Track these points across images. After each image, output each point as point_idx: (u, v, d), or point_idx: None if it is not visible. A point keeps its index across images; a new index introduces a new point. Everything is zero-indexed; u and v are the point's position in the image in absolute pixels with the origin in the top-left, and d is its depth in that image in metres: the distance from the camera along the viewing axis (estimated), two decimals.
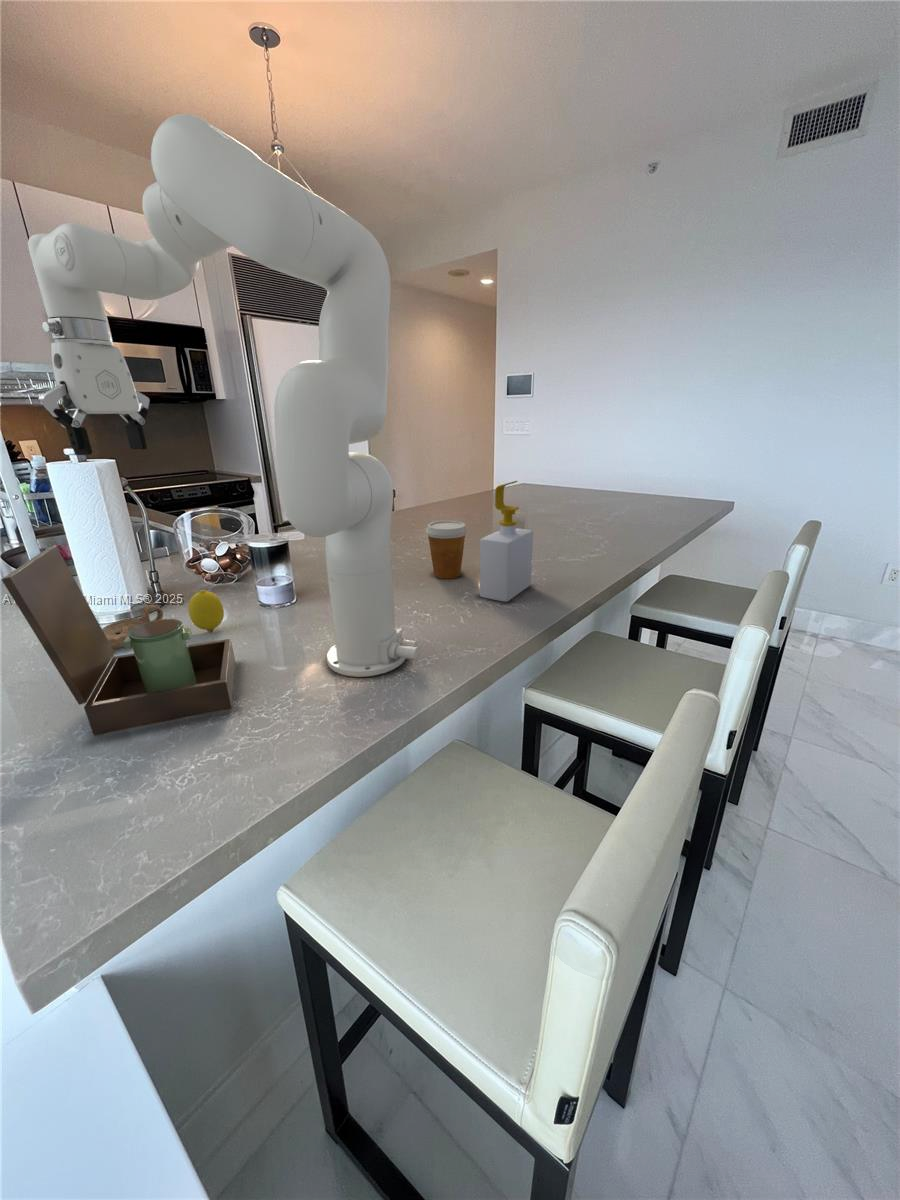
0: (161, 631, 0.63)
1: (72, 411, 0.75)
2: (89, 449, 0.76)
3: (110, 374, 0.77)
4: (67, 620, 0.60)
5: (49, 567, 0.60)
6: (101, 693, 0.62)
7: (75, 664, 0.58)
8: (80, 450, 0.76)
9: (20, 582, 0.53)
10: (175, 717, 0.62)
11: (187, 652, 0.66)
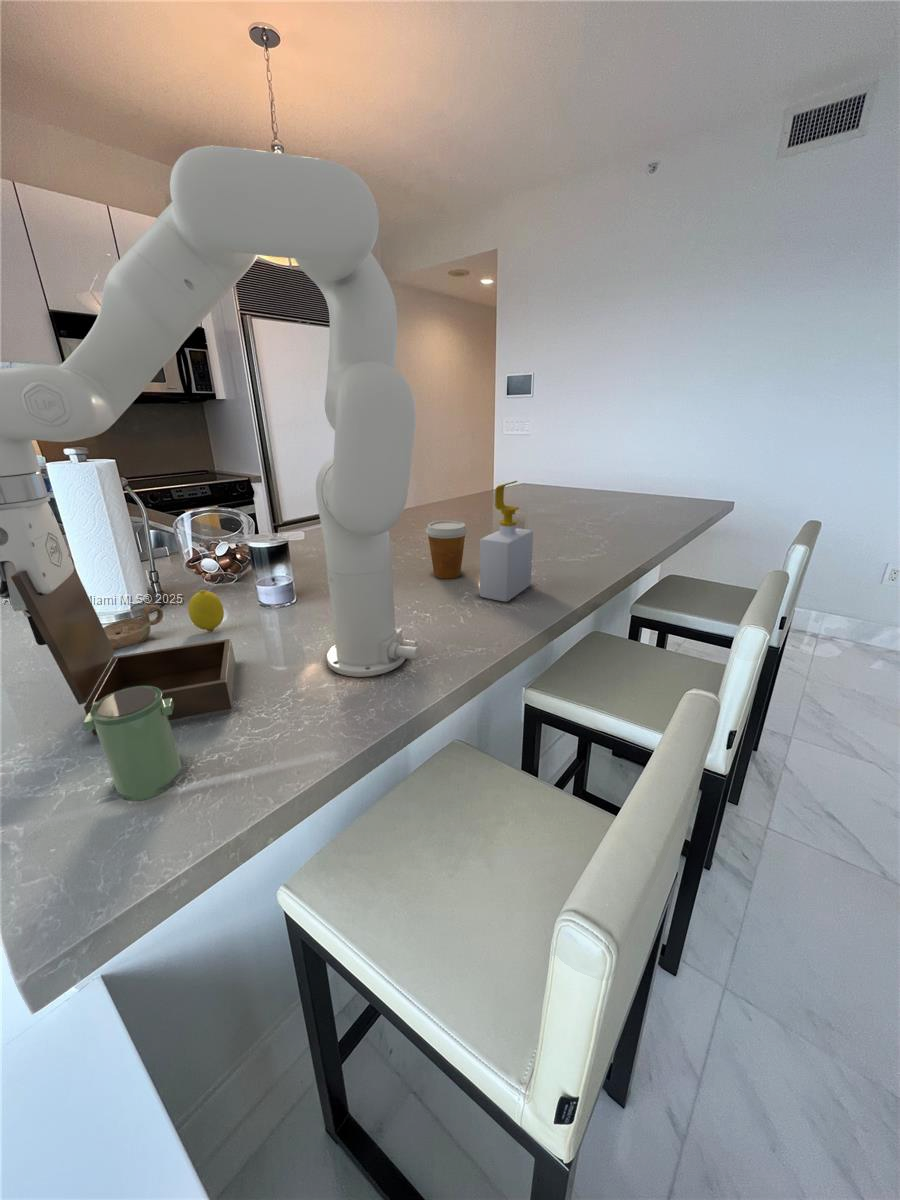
0: (133, 706, 0.49)
1: None
2: None
3: (52, 536, 0.57)
4: (71, 619, 0.60)
5: None
6: (101, 693, 0.62)
7: (77, 664, 0.58)
8: None
9: (29, 580, 0.53)
10: (175, 717, 0.62)
11: (168, 730, 0.52)
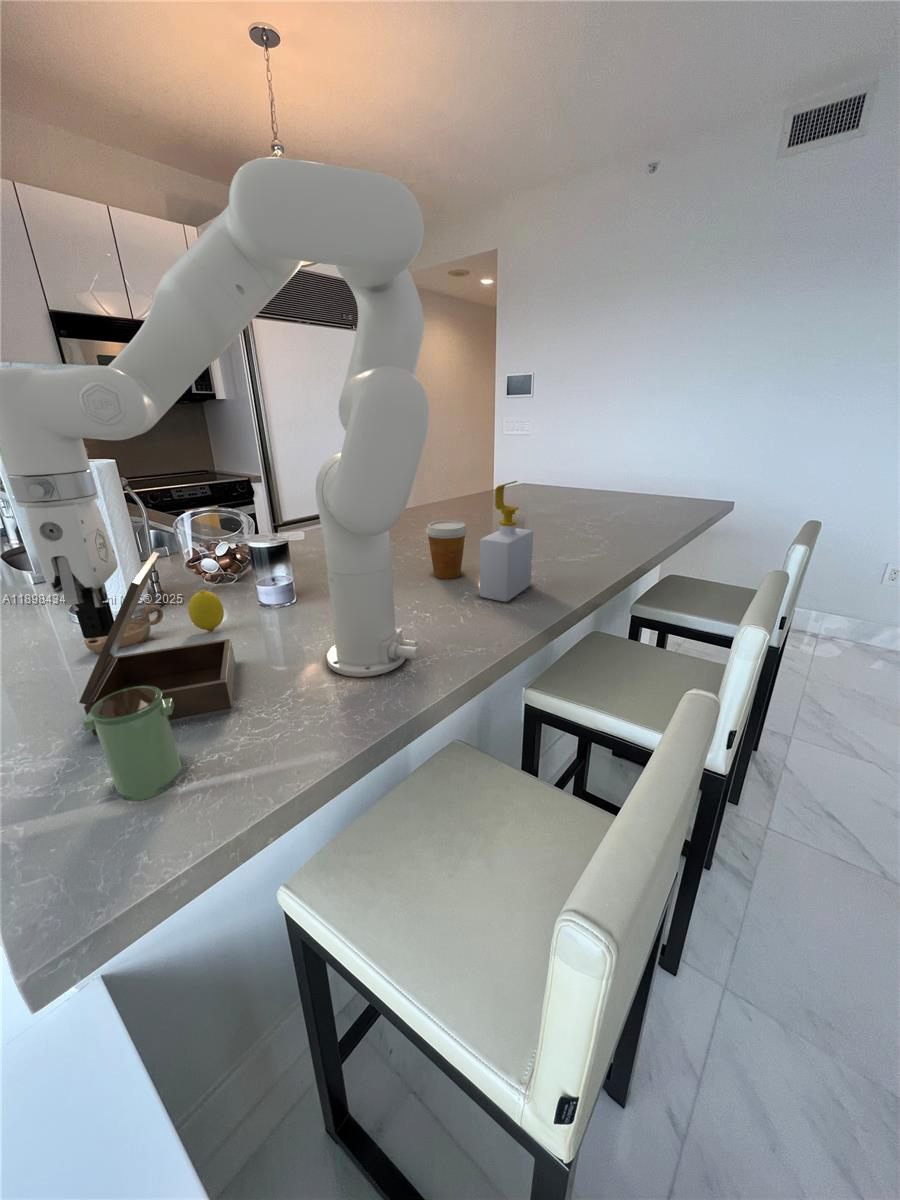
0: (133, 706, 0.49)
1: None
2: None
3: (100, 532, 0.59)
4: (125, 623, 0.62)
5: (148, 574, 0.64)
6: (101, 693, 0.62)
7: (104, 666, 0.59)
8: None
9: (137, 589, 0.57)
10: (175, 717, 0.62)
11: (168, 730, 0.52)
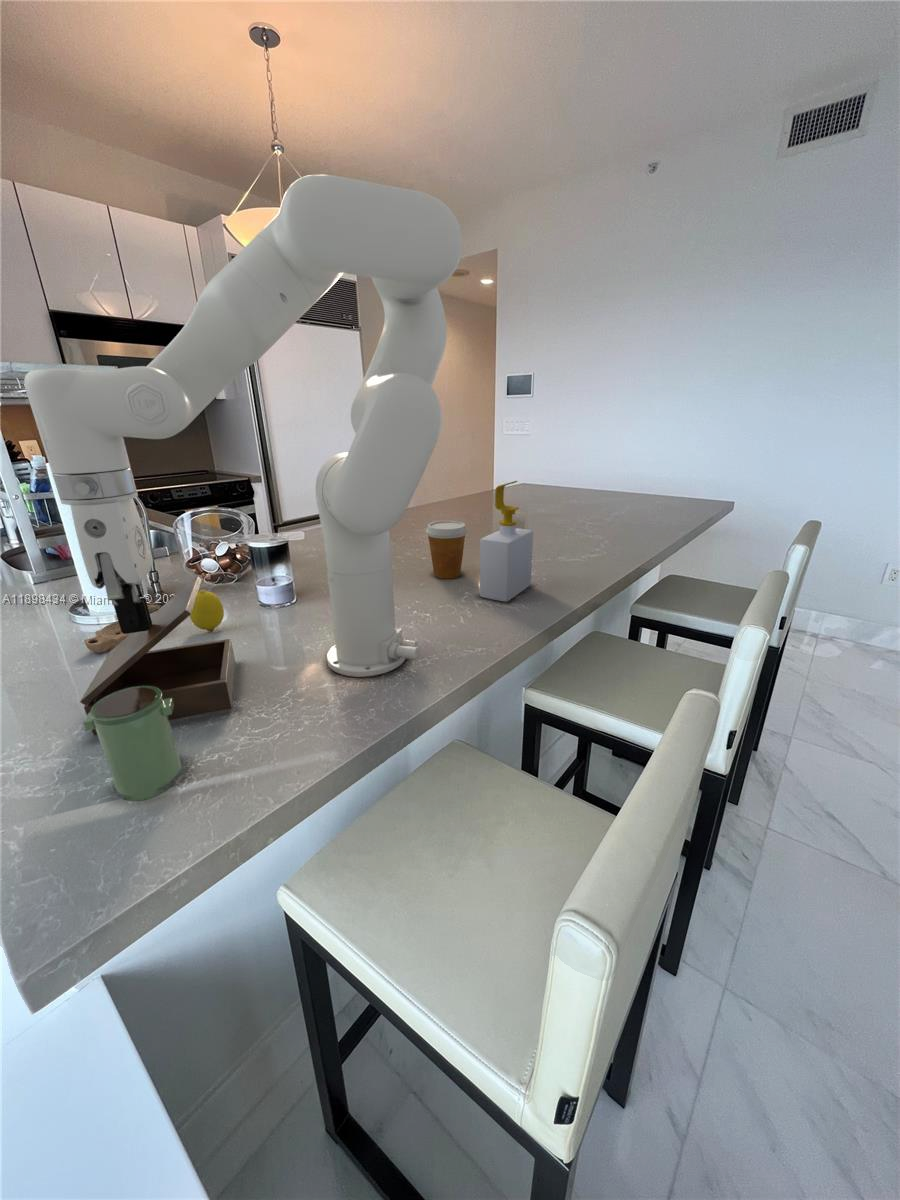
0: (133, 706, 0.49)
1: None
2: (148, 624, 0.63)
3: (138, 529, 0.60)
4: None
5: None
6: (101, 693, 0.62)
7: None
8: None
9: None
10: (175, 717, 0.62)
11: (168, 730, 0.52)
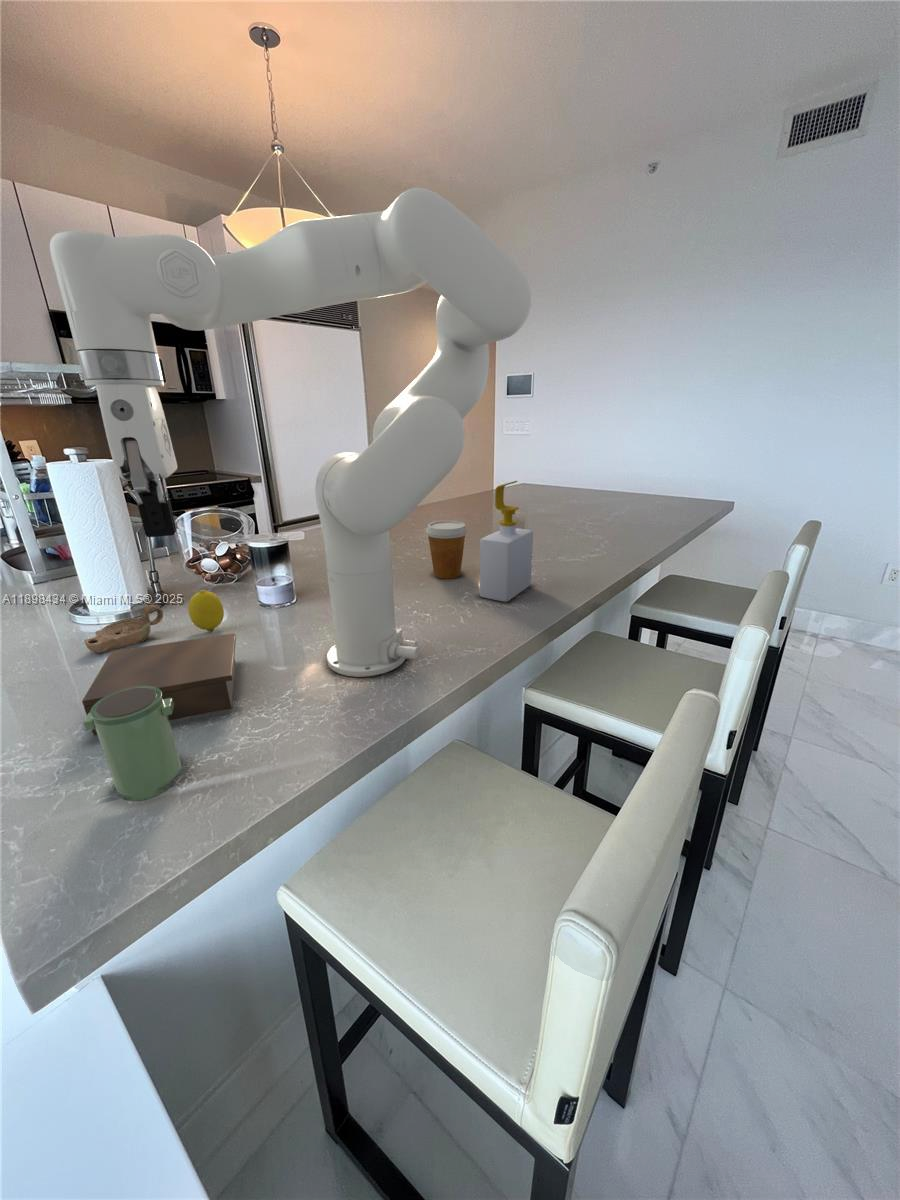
0: (133, 706, 0.49)
1: None
2: (172, 528, 0.60)
3: (164, 424, 0.57)
4: None
5: None
6: None
7: None
8: (158, 531, 0.60)
9: None
10: (175, 717, 0.62)
11: (168, 730, 0.52)
